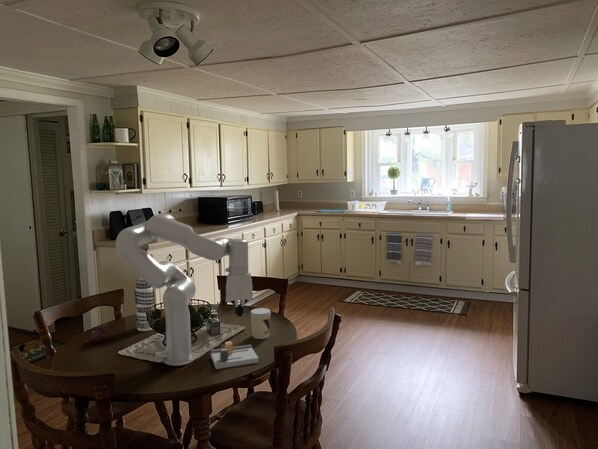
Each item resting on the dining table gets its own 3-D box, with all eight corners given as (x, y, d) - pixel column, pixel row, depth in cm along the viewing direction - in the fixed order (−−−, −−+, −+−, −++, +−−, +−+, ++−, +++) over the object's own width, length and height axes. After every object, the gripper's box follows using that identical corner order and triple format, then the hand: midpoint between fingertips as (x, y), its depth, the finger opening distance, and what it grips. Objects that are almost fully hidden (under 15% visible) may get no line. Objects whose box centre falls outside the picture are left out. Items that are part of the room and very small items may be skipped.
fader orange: (226, 354, 186) (226, 344, 186) (225, 351, 189) (225, 341, 189) (232, 353, 187) (232, 343, 187) (231, 350, 190) (231, 340, 190)
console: (215, 369, 178) (215, 361, 177) (211, 357, 189) (210, 350, 189) (258, 362, 184) (258, 355, 183) (251, 351, 195) (251, 344, 194)
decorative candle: (133, 327, 224) (130, 277, 221) (151, 323, 230) (149, 274, 227) (140, 332, 218) (137, 281, 214) (158, 328, 223) (156, 278, 220)
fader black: (221, 361, 179) (221, 351, 179) (220, 358, 182) (220, 348, 182) (228, 360, 180) (227, 350, 180) (226, 357, 183) (226, 347, 183)
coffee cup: (268, 340, 207) (267, 314, 206) (248, 338, 209) (247, 313, 207) (273, 333, 216) (272, 308, 215) (254, 331, 218) (253, 307, 216)
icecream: (100, 333, 199) (115, 324, 214) (84, 329, 199) (100, 320, 214) (97, 349, 199) (112, 339, 214) (80, 344, 199) (96, 335, 214)
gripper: (221, 273, 174) (222, 320, 176) (259, 271, 179) (259, 316, 181) (218, 269, 181) (219, 314, 183) (255, 267, 186) (255, 311, 188)
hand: (239, 315), depth 182 cm, fingers closed
